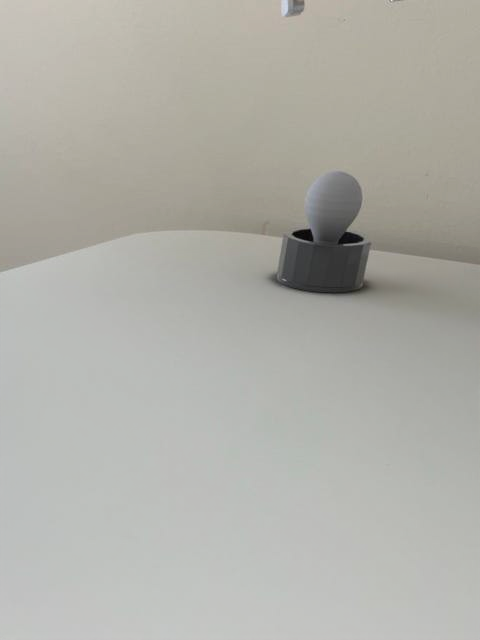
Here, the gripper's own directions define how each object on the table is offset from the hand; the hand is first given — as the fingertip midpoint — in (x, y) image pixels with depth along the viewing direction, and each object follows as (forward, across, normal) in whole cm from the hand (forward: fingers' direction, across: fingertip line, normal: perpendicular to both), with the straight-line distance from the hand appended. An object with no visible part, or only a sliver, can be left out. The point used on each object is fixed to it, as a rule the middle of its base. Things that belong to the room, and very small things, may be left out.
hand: (347, 6), depth 86 cm
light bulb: (+21, +1, +12) cm, 25 cm away
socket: (+22, +1, +12) cm, 25 cm away
